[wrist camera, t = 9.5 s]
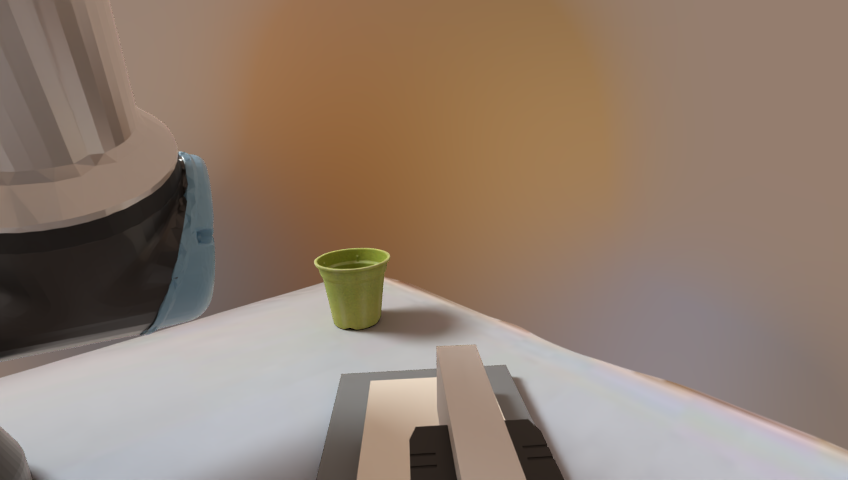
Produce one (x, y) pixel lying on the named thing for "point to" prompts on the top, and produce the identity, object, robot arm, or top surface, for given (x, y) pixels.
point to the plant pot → (354, 285)
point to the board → (352, 404)
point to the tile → (395, 425)
